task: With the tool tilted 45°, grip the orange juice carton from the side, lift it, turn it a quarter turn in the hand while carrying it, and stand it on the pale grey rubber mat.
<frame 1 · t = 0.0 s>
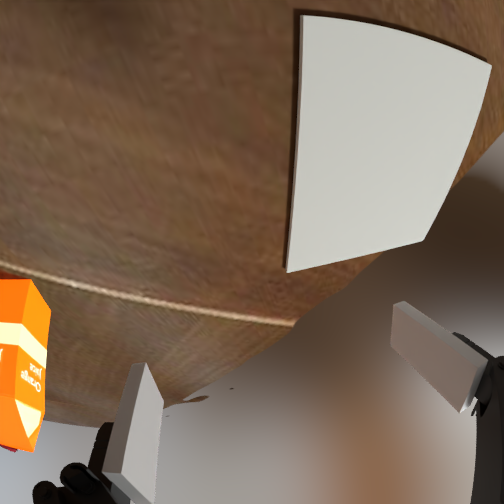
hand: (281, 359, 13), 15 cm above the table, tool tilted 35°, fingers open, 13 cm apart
rubber mat: (393, 165, 25), on the table
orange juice: (17, 294, 27), on the table
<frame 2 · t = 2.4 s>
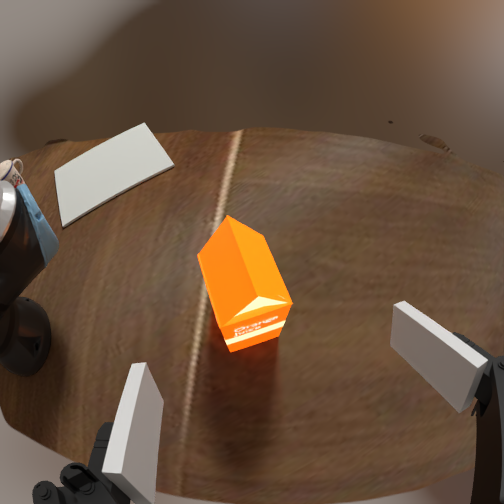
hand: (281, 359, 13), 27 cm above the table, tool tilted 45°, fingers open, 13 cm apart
rubber mat: (106, 168, 59), on the table
teacup with lid: (18, 189, 58), on the table
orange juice: (245, 318, 42), on the table
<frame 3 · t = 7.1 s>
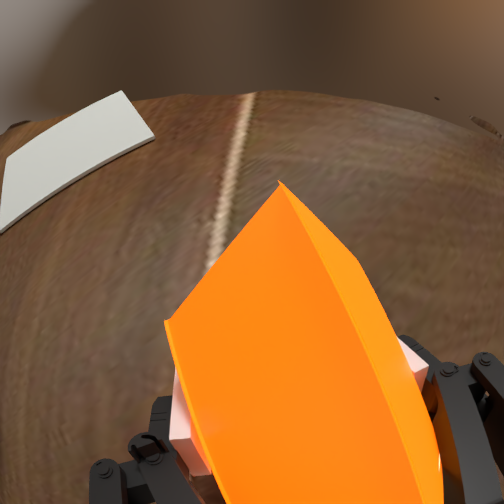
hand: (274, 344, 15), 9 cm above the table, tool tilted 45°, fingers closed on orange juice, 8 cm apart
rubber mat: (64, 148, 38), on the table
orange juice: (276, 402, 21), on the table, touching gripper
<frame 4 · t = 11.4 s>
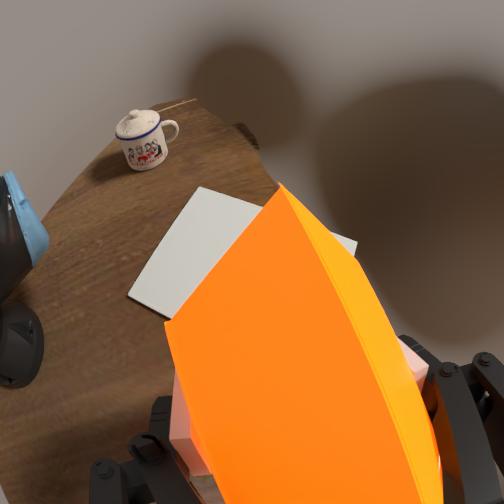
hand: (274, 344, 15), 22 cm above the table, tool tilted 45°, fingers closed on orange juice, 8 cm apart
rubber mat: (246, 270, 41), on the table
teacup with lid: (155, 155, 54), on the table
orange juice: (276, 403, 21), point 13 cm above the table, touching gripper
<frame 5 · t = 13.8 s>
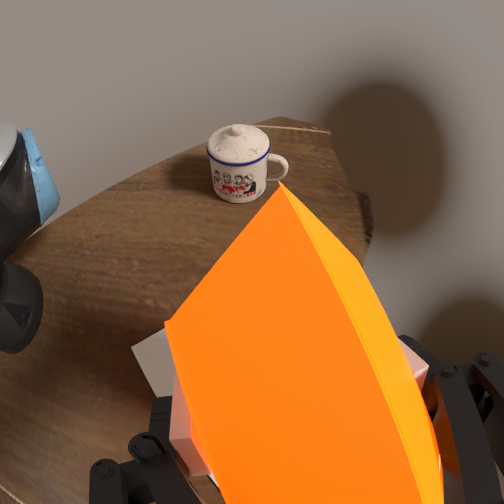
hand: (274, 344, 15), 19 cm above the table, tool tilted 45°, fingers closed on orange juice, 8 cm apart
rubber mat: (266, 399, 30), on the table
teacup with lid: (248, 186, 46), on the table
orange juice: (276, 402, 21), point 10 cm above the table, touching gripper
when the fingers open (11 cm above the table, at t = 16.0 s): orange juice drops 1 cm, resting on rubber mat.
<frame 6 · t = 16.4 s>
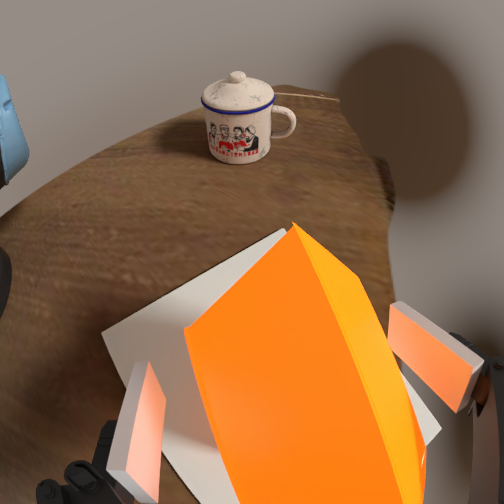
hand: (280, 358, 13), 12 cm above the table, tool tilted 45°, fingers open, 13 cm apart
rubber mat: (274, 402, 22), on the table
teacup with lid: (249, 148, 38), on the table
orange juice: (278, 402, 22), resting on rubber mat
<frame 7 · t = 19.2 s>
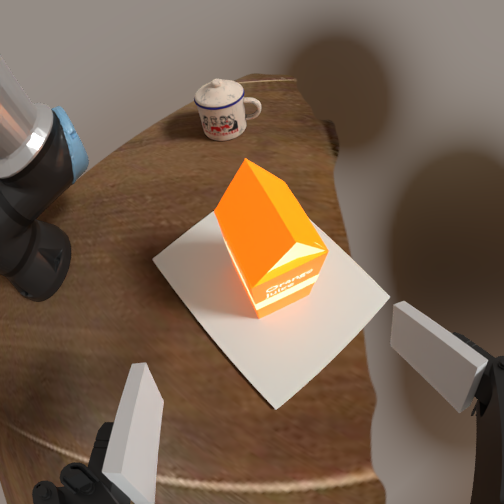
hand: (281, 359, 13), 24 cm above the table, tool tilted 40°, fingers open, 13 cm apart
rubber mat: (268, 280, 40), on the table
teacup with lid: (232, 127, 53), on the table
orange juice: (270, 279, 39), resting on rubber mat
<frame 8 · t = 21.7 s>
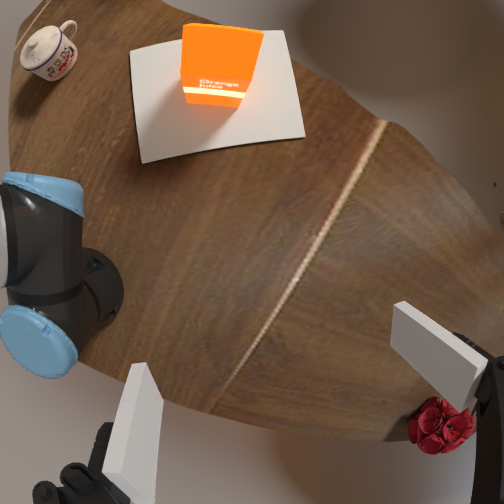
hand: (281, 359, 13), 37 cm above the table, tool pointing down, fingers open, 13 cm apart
bouquet: (427, 407, 75), on the table
rubber mat: (214, 87, 42), on the table
teacup with lid: (64, 56, 35), on the table
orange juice: (215, 85, 41), resting on rubber mat
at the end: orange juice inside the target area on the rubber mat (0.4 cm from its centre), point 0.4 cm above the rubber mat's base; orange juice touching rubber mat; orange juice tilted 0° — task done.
